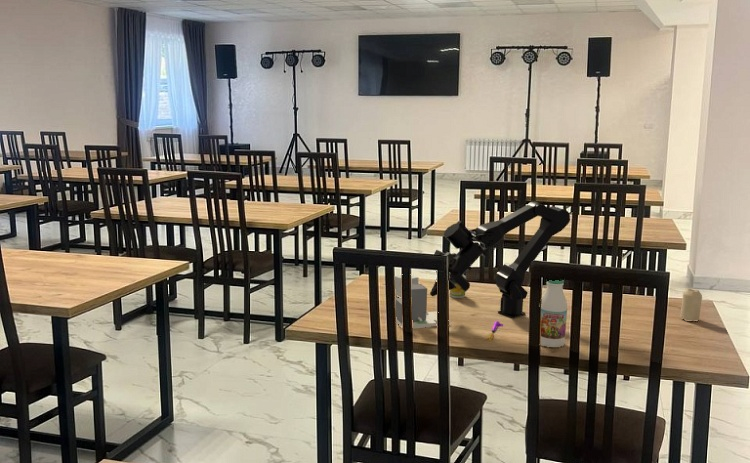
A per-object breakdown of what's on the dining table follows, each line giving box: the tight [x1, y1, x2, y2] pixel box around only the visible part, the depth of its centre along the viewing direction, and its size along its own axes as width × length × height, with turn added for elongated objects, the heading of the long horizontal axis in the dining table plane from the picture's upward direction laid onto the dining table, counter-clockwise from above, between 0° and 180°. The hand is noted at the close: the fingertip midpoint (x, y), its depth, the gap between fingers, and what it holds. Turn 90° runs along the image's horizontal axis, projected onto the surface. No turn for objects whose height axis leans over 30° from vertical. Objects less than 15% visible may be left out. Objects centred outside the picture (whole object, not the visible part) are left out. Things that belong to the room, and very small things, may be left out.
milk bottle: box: [540, 279, 568, 348], centre depth 198 cm, size 8×8×20 cm
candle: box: [679, 288, 703, 321], centre depth 223 cm, size 6×6×10 cm
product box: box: [394, 274, 419, 297], centre depth 241 cm, size 6×6×7 cm
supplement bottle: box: [449, 274, 467, 299], centre depth 243 cm, size 5×5×10 cm
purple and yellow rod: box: [488, 320, 504, 342], centre depth 209 cm, size 3×1×16 cm
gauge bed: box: [394, 297, 450, 330], centre depth 215 cm, size 15×10×7 cm, turn 108°
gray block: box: [411, 283, 428, 321], centre depth 214 cm, size 5×9×10 cm, turn 18°
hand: (431, 295), depth 215 cm, fingers closed
